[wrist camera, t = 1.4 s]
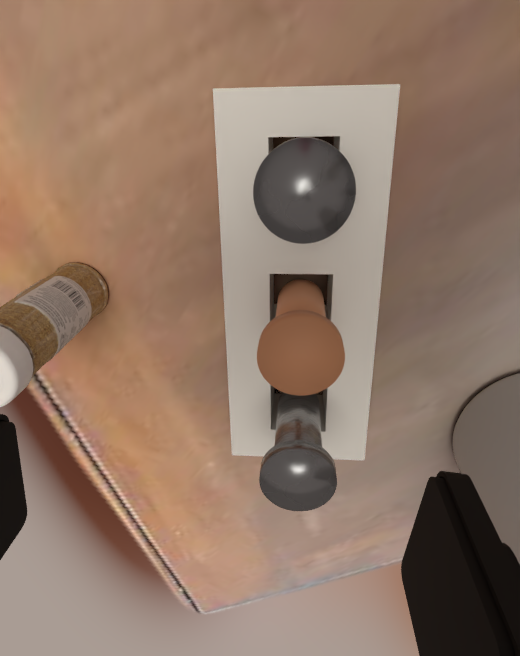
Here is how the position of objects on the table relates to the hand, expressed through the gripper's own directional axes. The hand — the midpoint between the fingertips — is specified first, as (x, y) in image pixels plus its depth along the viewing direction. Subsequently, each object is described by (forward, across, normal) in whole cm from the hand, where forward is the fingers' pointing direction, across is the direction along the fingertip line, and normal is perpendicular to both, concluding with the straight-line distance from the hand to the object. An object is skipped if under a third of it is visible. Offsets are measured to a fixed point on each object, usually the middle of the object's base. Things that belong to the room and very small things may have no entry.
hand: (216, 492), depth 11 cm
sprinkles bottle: (+26, +14, +6) cm, 30 cm away
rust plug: (+21, -2, +3) cm, 21 cm away
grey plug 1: (+21, -1, -5) cm, 21 cm away
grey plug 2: (+21, -3, +11) cm, 24 cm away
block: (+25, -2, +3) cm, 25 cm away
